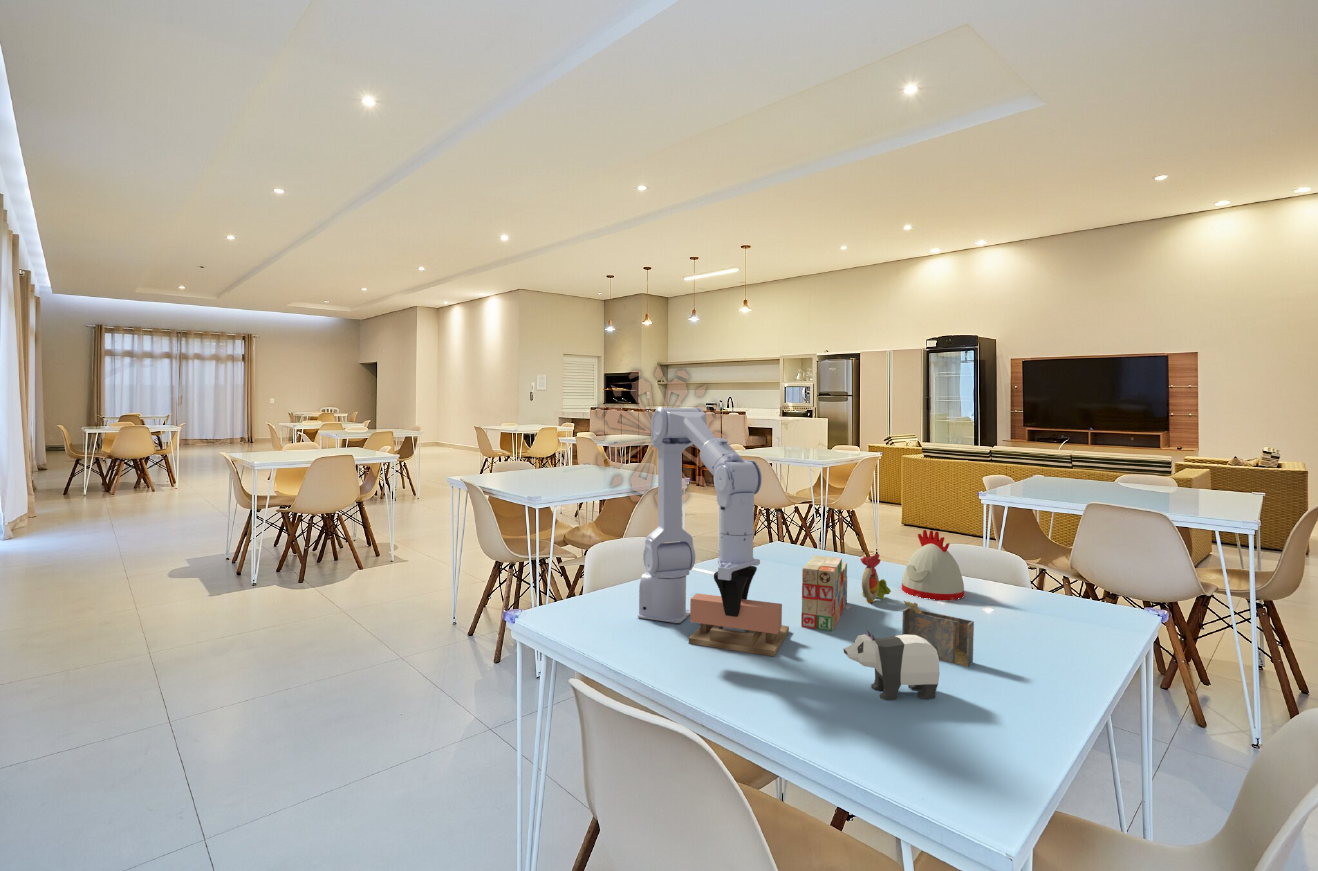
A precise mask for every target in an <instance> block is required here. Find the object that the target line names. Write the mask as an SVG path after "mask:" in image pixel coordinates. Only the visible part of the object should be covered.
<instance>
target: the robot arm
mask: <svg viewBox="0 0 1318 871" xmlns="http://www.w3.org/2000/svg"><path fill="white" fill-rule="evenodd" d="M650 427H651V428H650V430H651V431H650V432H651V433H650V434H651V436H650V439H651V446H652V447H653V448H655V449H657V488H658V489H657V493H658V496H657V498H658V499H657V500H658V504H657V506H658V509H657V510H658V513H657V514H658V518H657V519H658V522H657V523H658V525H657V527H656V528H655V529H654V530H653V531H652V532H650V533H649V534H648V535H647V536H646V537H645V543H644V544H645V545H644V549H643V554H642V555H643V557H642V559H643V561H642V562H643V566H644V569H645V572H644V573H643V574H642V575H641V578H640V582H639V585H638V586H639V589H638V598H639V599H638V614H637V619H645V620H652V621H658V622H666V623H673V624H681V623H682V622H684V621H685V620H686V619H687V618H688V617H690V609H687V608H686V607H687V602H686V601H687V576H689V575H690V571H691V570H693V568H694V566H695V564H696V551H695V548H694V540H693V538H694V537H693V536H692V535H691V534H690V533H689V532H688V531H686V530H685V529H684V528H683V495H682V494H683V493H682V492H683V484H682V483H683V481H682V480H683V477H682V473H683V471H682V470H683V468H682V467H683V466H682V464H683V463H682V462H683V461H682V459H683V458H682V454H683V452H684V451H685V450H686V448H688V447H691V446H693V445H694V446H695V447H696V448H697V449H699V451H700V452H699V457H700V461H701V462H702V463H703V466H705V467H706V469H707V470H708V471H709V473H710V474H711V475H712V476H713V485H714V490H715V492H716V502H717V505H718V506H719V534H718V535H719V536H718V538H719V542H718V546H719V548H718V557H717V565H718V567H717V571H715V572H714V573H713V581H714V582H715V583H716V585H717V587H718V590H719V592H720V596H721V597H722V602H723V607H724V611H725V615H726V616H734V617H737V616H738V615H739V611H740V606H741V599H747V600H748V596H749V592H750V591H749V590H750V587H751V584H752V580H754V579H753V578H754V576H755V575H756V572H757V570H758V567H757V566H759V565H760V564H761V559H759V558H754V528H755V527H754V523H755V520H754V517H755V495H756V494H758V493H759V492H760V490H761V487H762V482H763V481H762V472H761V468H760V466H759V465H758V463H757V462H756V461H755V460H751V459H749V460H747V459H744V458H742V457H741V456H740V455H739V454H738V453H737V451H736V450H735V449H734V448H733V447H732V445H730V444H729V443H728V440H727V439H726V438H725V437H724V438H723V437H715V435H714V434H713V432H712V431H711V429H710V428H709V426H708V425H707V414H706V412H704V411H703V409H702V408H701V407H694V408H689V407H687V408H686V407H663V406H658V407H657V408H656V409H655V411H654V412H653V414H652V417H651V419H650Z"/></svg>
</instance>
